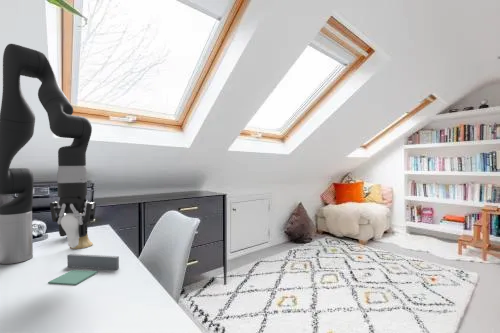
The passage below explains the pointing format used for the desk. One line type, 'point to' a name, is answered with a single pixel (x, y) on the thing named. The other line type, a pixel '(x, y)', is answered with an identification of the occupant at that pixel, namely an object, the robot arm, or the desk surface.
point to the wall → (93, 261)
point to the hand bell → (83, 242)
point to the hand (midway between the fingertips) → (73, 235)
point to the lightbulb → (71, 229)
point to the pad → (73, 277)
